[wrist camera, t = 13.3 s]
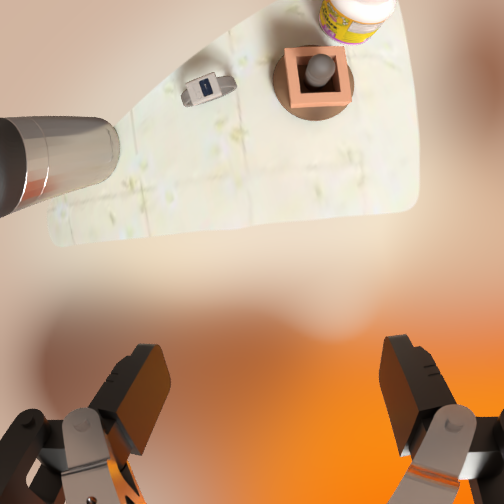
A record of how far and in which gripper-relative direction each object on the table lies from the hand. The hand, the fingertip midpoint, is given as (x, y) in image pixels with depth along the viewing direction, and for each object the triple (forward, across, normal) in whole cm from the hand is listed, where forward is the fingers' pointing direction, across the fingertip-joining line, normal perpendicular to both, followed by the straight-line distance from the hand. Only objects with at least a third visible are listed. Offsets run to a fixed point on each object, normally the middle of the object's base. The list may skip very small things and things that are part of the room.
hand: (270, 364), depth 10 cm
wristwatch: (+28, +6, -14) cm, 32 cm away
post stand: (+28, -5, -14) cm, 32 cm away
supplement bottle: (+28, -10, -22) cm, 37 cm away
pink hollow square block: (+27, -5, -14) cm, 30 cm away
